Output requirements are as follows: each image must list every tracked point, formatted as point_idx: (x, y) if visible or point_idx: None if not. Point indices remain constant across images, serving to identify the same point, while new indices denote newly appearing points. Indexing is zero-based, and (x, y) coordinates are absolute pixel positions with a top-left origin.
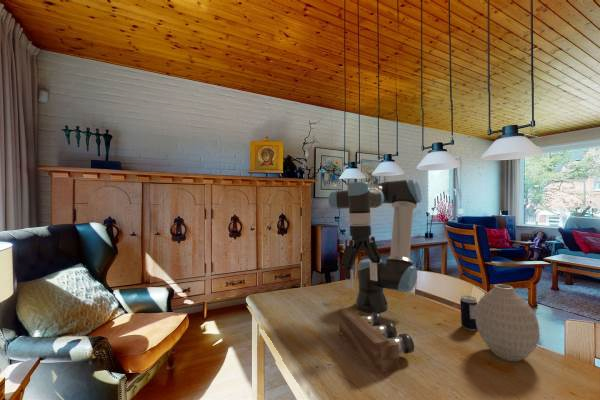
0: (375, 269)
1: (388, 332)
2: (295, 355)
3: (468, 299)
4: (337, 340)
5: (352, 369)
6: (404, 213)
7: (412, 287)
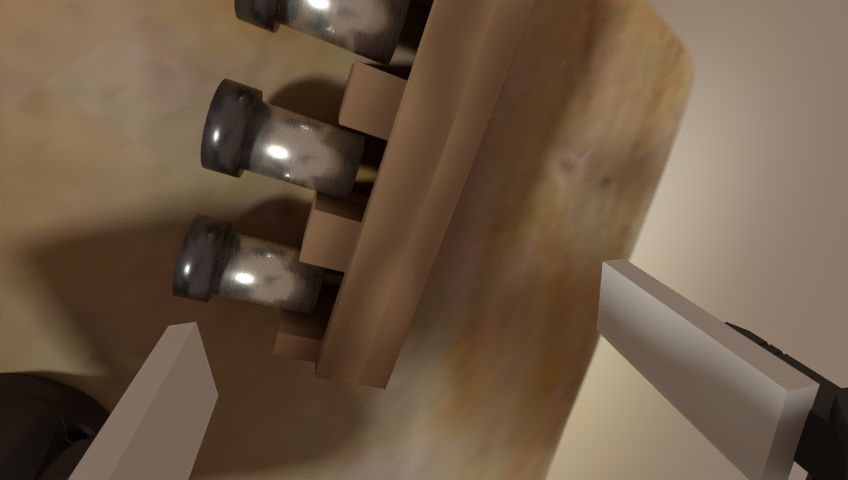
0: (137, 438)
1: (270, 107)
2: None
3: None
4: None
5: (531, 89)
6: None
7: None
